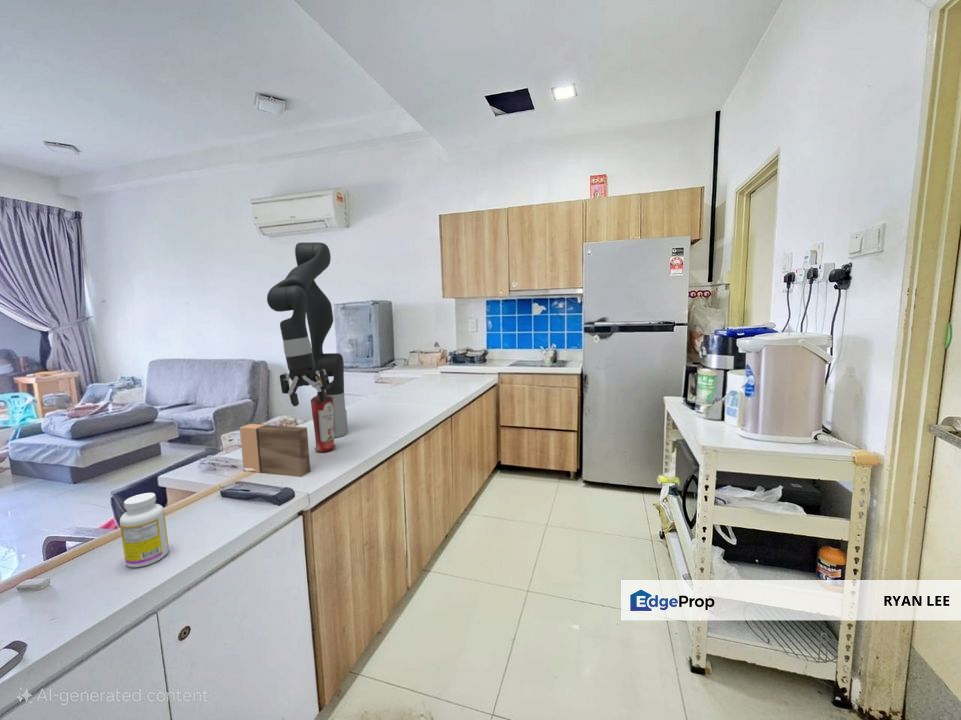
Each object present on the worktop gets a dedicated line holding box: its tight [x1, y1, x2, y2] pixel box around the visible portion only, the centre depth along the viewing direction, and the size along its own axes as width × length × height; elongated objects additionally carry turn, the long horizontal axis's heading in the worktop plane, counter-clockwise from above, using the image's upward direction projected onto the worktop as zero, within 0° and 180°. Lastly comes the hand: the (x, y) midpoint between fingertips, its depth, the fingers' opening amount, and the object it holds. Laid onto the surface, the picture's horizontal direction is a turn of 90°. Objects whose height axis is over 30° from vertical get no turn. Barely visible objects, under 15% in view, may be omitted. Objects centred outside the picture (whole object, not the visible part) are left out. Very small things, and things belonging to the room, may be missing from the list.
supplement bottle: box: [119, 492, 170, 568], centre depth 77 cm, size 7×7×13 cm
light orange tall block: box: [239, 423, 267, 474], centre depth 120 cm, size 4×6×14 cm, turn 76°
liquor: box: [310, 375, 336, 453], centre depth 136 cm, size 7×7×28 cm
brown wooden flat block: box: [257, 424, 311, 478], centre depth 118 cm, size 4×15×14 cm, turn 76°
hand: (309, 404), depth 120 cm, fingers open, 8 cm apart
